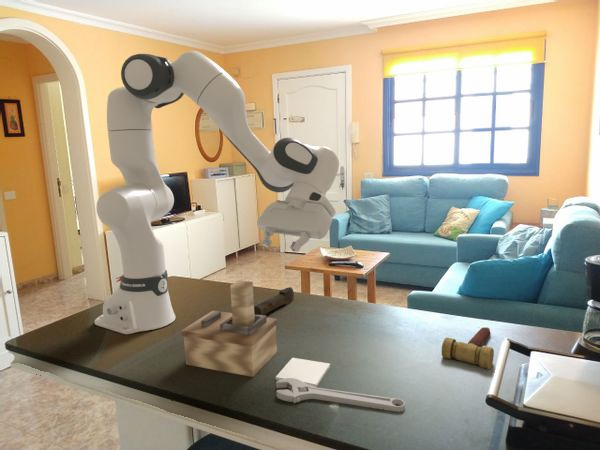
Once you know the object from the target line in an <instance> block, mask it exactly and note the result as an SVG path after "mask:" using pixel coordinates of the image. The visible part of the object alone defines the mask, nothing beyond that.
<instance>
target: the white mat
mask: <svg viewBox="0 0 600 450" xmlns="http://www.w3.org/2000/svg"><path fill="white" fill-rule="evenodd" d="M330 368H331V363H329V362H322V361H316V360H309V359H304V358H303V359H302V358H297V357H291V358H290V360H289V361H288V362H287V363H286V364H285V366H284V367H283V368H282V369H281V370H280V371H279V373H278V374H276V376H275V380H276V381H278V380H280V379H284V378H294V379H298V380H300V381H302V382H304V383H306V384H308V385H311V386H314V387H317V388H318V386H319V385H320V383H321V381H322V379H323V378H324V377H325V375H326V374H327V372H328V371H329V369H330Z"/></svg>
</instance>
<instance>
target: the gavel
mask: <svg viewBox="0 0 600 450" xmlns="http://www.w3.org/2000/svg"><path fill="white" fill-rule="evenodd" d="M490 336H491V329H490V327H487V326H486V327H481V328H480V329H479V330H478V331H477V332H476V334H474V336H472V338H471V339H470V340H469V341H468V343H467V342H462V341H457V340H456V339H455V338H451V337H445V338H444V339H443V341H442V345H441V356H442V358H443V359H447V360H452V359H455V360H457V361H460V362H465V363H467V364H468V363H469V364H473V365H479V367H480V368H484V369H487V370H490V369H491V367H492V366H493V362H494V356H495V354H494V353H495V352H494V348H493V347H492V346H487V345H483V344H484V343H485V342H486V341H487V340H488V339H489V337H490Z"/></svg>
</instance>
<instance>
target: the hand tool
mask: <svg viewBox="0 0 600 450" xmlns="http://www.w3.org/2000/svg"><path fill="white" fill-rule="evenodd" d="M294 293H295V291H294V289H293V287H290V286H289V287H285V288H282V289H280V290H279V292H278V294H277V295H274V296H273V297H270V298H268V299H267V300H264V301H262V302H260V303H258V304H256V305H254V314H255V315H263V316H266V315H267V314H268V313H270V312H272V311H274V310H276V309H278V308H279V307H281V306H288V305H289V304H290V303H291V302H292V301H293V300H294V299H295V294H294Z"/></svg>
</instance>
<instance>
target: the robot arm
mask: <svg viewBox="0 0 600 450" xmlns="http://www.w3.org/2000/svg"><path fill="white" fill-rule="evenodd" d="M120 76H121V82H122V83H123V86H120V87H117V88H115V89H113V90H112V91H110V92H109V94H108V96H107V101H106V102H107V103H106V126H107V127H106V128H107V136H108V146H109V154H110V160H111V162H112V164H113V165H114V166H115V167H116V168H117V169H118V170H119V171H120V173H121V175H122V177H123V180H124V182H125V183H124V184H125V185H118V186H115V187H112V188H111V189H109V190H107V191H105V192H103V193H102V194H101V195H100V196H99V197H98V199H97V202H96V214H97V216H98V219H99V220H100V222H101V223H102V224H103V225H104V226H106V227H107V228H109V230H111V231H112V234H113V235H114V237H115V239H116V241H117V244H118V247H119V251H120V257H121V263H122V264H121V265H122V271H123V272H122V273H123V274H122V275H120V276H119V277H116V278H115V280H116V281H115V282H116V283H118V282H119V288H118V289H117V290H115V291H114V292H113V293H112V294H111V295H110V296H108V298H106V299H105V300H104V302H103V305H102V314H101V315H99V316H98V317H96V318H95V320H94V325H96V326H98V327H101V328H104V329H108V330H111V331H114V332H117V333H120V334H123V335H130V334H134V333H139V332H147V331H150V330H157V329H161V328H163V327H166V326H168V325H169V324H172V323H174V321H175V320H176V318H177V317H176V314H175V312H174V309H173V306H172V302H171V296H170V294H169V289H168V288H169V277H168V276H169V275H168V271H167V270H166V263H165V262H166V261H165V260H166V259H165V250H164V249H165V248H164V244H163V242H162V241H161V240H160V239H158V238H157V237H156V235H155V233H154V230H153V227H152V222H153V221H157V220H160V219H162V218H163V217H164V216H166V215H167V214H168V213H169V212H171V210H172V209H173V207H174V203H175V197H174V194H173V192H172V190H171V188H170V187H169V186H167V184H166V183H165V181H164V179H163V176H162V174H161V172H160V169H159V165H158V163H157V158H156V153H155V152H156V150H155V144H154V143H155V142H154V133H153V125H152V123H153V122H152V111H153V109H155V108H156V109H161V108H164V107H165V106H168V105H171V104H174V103H176V102H178V101H180V100H181V99H182V98H183V96H184V95H185V96H187V97H188V98H189V99H191V100H192V101H193V102H194V103H195V104H196V105H197V106H198V107H199V108H200V109H201V110H203V112H204V113H205V114H206V115H207V116H208V117H209V118H210V119H211V120H212V121H213V123H214V124H216V126H217V127H218V128H219V130H220V131H221V133H222V134H223V135H224V137H225V138H226V139H227V140H228V141H229V142H230V143H231V144H232V146H233V147H234V148H235V149H236V150H237V152H239V153H240V154H241V156H242V157H243V158H244V159H245V160H246V161H247V162H248V164H249V165H250V166H251V167H252V168H253V169H254V170H255V172H256V174H257V177H258V178H259V180H260V182H261V183H262V185H263V186H264V187H265V188H266V189H267V190H269V191H270V192H273V193H284V192H287V191H288V194H286V195H287V196H286V197H285V200H280V199H279V200H275V201H273V202H272V203H270V204H269V205H267V207H266V208H265V209H264V210H263V212H262V213H261V215H260V216H259V217H258V219H257V224H256V225H257V226H258V228H259V229H260V230H261V231H262V232H263V239H262V240H261V245H262V246H263V247H264V248H265V247H266V248H270V246H271V244H272V243H273V242H272V241H271V237H273V235H274V234H278V235H284V236H285V235H286V236H292V237H293V236H294V237H299V238H297V240H296V241H293V240H292V242H291V245H290V247H289V248H290V250H291V251H293V252H299V251H300V250H301V248H302V247H303V246H304V245H306V244H307V243H308V242H309V241H310V239H315V240H316V239H317V240H322V239H323V238H325V237H326V235H327V234H328V232H329V230H330V228H331V225H332V222H333V218H334V217H335V215H336V212H337V211H336V209H335V208H334V206H333V204H332V203H331V202H330V200H329V199H328V197H326V194H327V193H328V191H329V190H331V187H332V186H333V184H334V181H335V180H336V177H337V175H338V173H339V168H340V162H339V158H338V157H339V156H338V155H337V154H336V153H335V152H334V150H332V149H331V148H329V147H327V146H324V145H319V146H315V145H309V144H307V143H303V142H302V141H300V140H299V139H297V138H293V137H282V138H281V139H279V140H278V141H276V143H275V144H274V146H273V147H272V149H271V151H270V150H269V149H268V148H267V147H266V146H265V145H264V144H263V143H262V141H261V140H260V139H259V138H258V137H257V135H255V134H254V132H253V131H252V129H251V128H250V125H249V122H248V119H247V117H248V116H247V110H246V109H247V108H246V106H247V105H246V96H245V93H244V91H243V89H242V88H241V86H240V85H239V83H238V82H237V81H236V80H235V79H234V78H233V76H231V75H230V74H229V73H228V72H227V71H226V70H225V69H223V68H222V67H221V66H219V64H217V63H216V62H215V61H213V60H212V59H210V57H207V56H206V55H205V54H203V53H202V52H199V51H197V50H194V49H193V50H187V51H185V52H183V53H182V54H181V55H180V56H179V57H177V59H176V60H175V61H170V60H169V59H168V57H167V58H166V57H163V56H158V55H154V54H150V53H137V54H133V55H130V56H129V57H128V58H126V59H125V61H124V62H123V64H122V66H121V70H120Z"/></svg>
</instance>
